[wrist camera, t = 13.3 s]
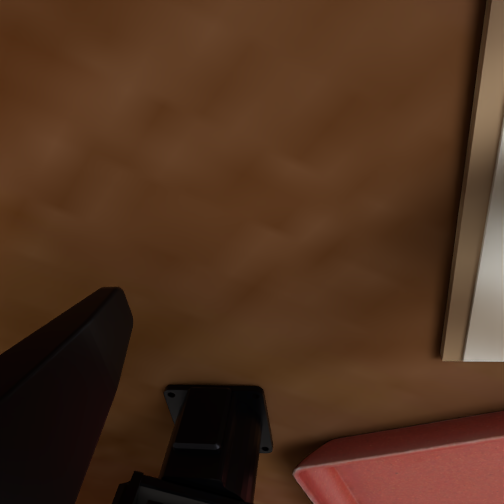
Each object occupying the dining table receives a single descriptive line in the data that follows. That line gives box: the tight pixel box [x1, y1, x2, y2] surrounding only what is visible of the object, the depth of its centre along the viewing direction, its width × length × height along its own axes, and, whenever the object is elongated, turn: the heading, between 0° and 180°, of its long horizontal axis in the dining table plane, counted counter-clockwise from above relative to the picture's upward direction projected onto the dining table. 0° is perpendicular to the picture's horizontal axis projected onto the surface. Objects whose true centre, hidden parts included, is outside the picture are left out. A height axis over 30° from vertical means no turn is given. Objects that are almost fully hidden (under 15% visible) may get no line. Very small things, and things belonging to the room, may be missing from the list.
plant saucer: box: [293, 411, 504, 504], centre depth 31 cm, size 18×18×3 cm
